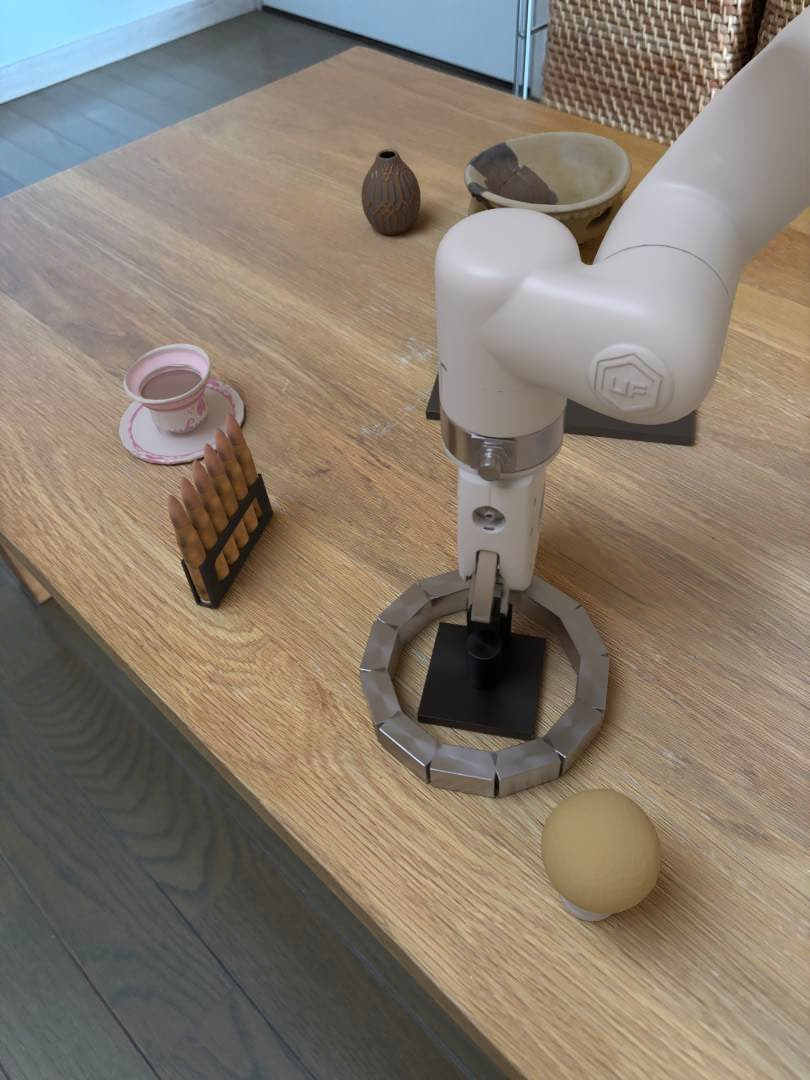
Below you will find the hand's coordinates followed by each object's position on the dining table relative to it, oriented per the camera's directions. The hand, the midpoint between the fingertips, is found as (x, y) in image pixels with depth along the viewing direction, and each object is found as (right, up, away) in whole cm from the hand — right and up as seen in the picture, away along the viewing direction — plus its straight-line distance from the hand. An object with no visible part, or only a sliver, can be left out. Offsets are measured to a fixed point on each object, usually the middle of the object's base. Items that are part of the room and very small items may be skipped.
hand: (496, 592), depth 66 cm
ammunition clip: (-21, +2, +6) cm, 22 cm away
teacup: (-28, +15, +17) cm, 36 cm away
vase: (-8, +42, +38) cm, 57 cm away
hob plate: (+9, +21, +19) cm, 30 cm away
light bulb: (+4, -17, -13) cm, 22 cm away
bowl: (+9, +38, +33) cm, 51 cm away
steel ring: (-1, -6, -4) cm, 7 cm away
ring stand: (-1, -6, -4) cm, 7 cm away
